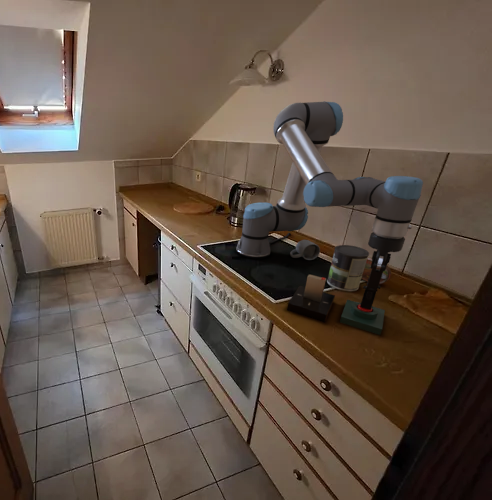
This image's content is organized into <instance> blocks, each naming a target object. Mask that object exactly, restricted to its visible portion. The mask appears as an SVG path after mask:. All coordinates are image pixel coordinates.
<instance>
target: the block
mask: <svg viewBox="0 0 492 500" xmlns="http://www.w3.org/2000/svg"><path fill="white" fill-rule="evenodd" d="M360 304H361V302H358V301H354V300H351V299H346V302H345V304H344V307H343V310H342V314H341V316H340V319H339V323H341V324H344V325H347V326H350V327H353V328H356V329H359V330H363V331H365V332H369V333H371V334H375V335H378V336H381V335H382V331H383V326H384V320H385V309H383V308H379V307H376V306H373V305H372V312H364V311H361V310H359V309H358V308H357V307H358V305H360Z"/></svg>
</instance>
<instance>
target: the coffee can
mask: <svg viewBox="0 0 492 500" xmlns="http://www.w3.org/2000/svg"><path fill="white" fill-rule="evenodd" d="M369 256H370V252H369V251H368V250H366V248H363V247H359V246H355V245H349V244H341V245H336V246H335V247H334V251H333V255H332V258H331V259H332V260H331V264H330V268H329V272H328V275H327V278H326V283H327V284H328V285H329V286H330V287H331V288H334V289H337V290H340V291H343V292H356V291H357V290H359V288H360V284H361V281H362V279H361V278H362V274H363V271H364V268H365V264H366V261H367V258H369Z"/></svg>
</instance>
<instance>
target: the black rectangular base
mask: <svg viewBox="0 0 492 500" xmlns="http://www.w3.org/2000/svg"><path fill="white" fill-rule="evenodd" d="M305 287H306V286H302V285H299V286H298V287H297V289H296V290H295V292H294V293H293V295H292V296H291V298H290V299H289V300H288V303H287V307H286V311H288V312H291V313H294V314H297V315H300V316H303V317H306V318H309V319H312V320H315V321H318V322H321V323H326V321H327V319H328V316H329V314H330V312H331V309H332V307H333V304H334V301H335V297H336V295H335V294H332V293H329V292H324V291H323V295H322V299H321V302H317V301H313V300H310V299H306V298H303V296H304V291H305Z"/></svg>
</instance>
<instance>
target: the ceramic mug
mask: <svg viewBox="0 0 492 500" xmlns="http://www.w3.org/2000/svg"><path fill="white" fill-rule="evenodd" d="M295 253H297V254H295ZM320 253H321V248H320V246H319V244H316V243H315V242H313V241H311V240H308V239H301V240H299V241H298V242H297V243H296V244H295V249H292V250H291V251H290V252H289V256H290V257H291V258H293V259H298V258H303V259H304V260H306V261H312V260H315V259H317V258H318V257H319V255H320Z"/></svg>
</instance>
